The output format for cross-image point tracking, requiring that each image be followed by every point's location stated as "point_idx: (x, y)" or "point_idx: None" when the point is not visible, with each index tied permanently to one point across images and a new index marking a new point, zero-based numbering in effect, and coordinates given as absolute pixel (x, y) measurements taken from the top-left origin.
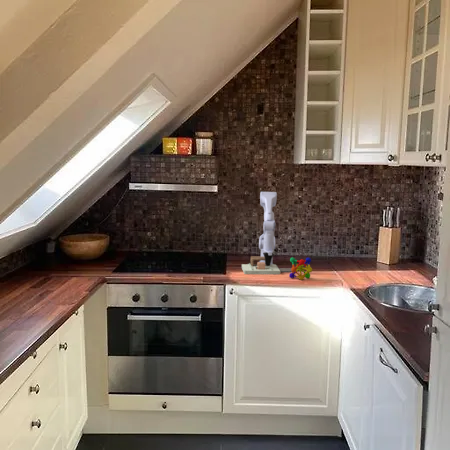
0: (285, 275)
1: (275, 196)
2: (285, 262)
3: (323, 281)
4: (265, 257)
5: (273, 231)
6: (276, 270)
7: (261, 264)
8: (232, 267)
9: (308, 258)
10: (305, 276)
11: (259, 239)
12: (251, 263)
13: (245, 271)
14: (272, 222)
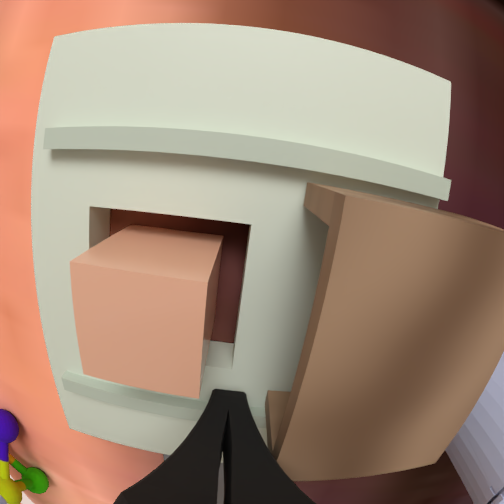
0: (61, 421)
1: None
2: (447, 477)
3: (16, 479)
4: (151, 472)
5: None
6: (74, 408)
7: (80, 312)
8: (432, 4)
9: None
10: (13, 463)
11: None
12: (376, 195)
13: (57, 50)
14: None
